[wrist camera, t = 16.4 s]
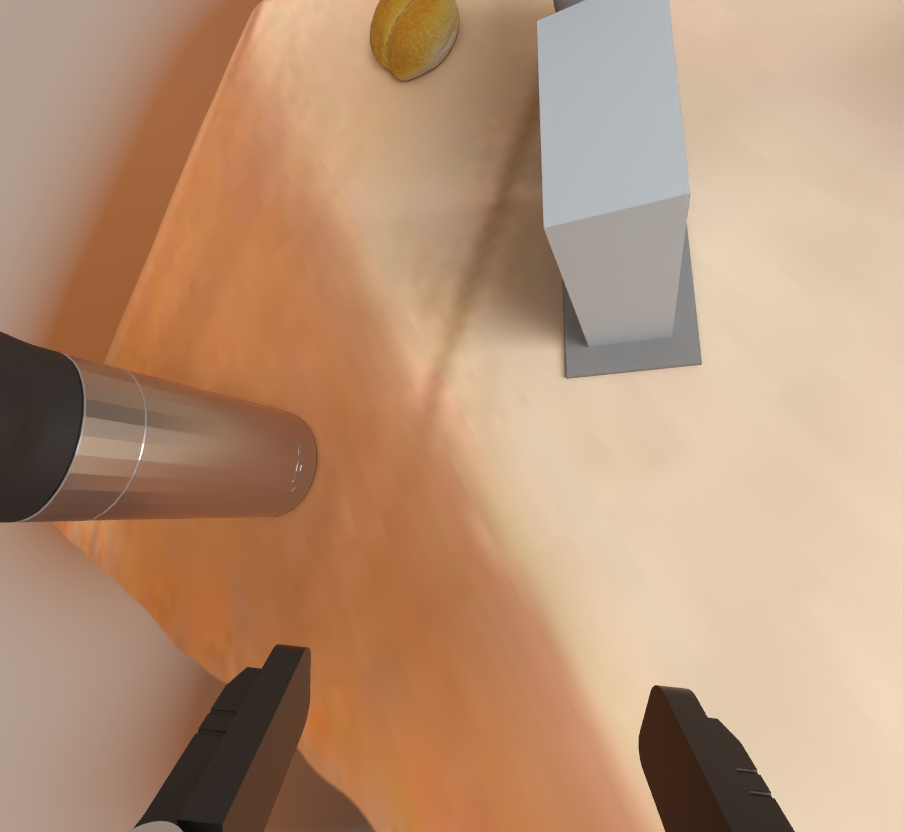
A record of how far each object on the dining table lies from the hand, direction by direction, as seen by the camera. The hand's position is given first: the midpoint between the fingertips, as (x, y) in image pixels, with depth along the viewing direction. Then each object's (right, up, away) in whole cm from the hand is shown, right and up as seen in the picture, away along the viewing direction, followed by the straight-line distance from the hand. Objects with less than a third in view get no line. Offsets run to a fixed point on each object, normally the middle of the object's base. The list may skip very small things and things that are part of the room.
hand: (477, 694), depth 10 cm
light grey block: (+11, +16, +19) cm, 27 cm away
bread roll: (-4, +42, +32) cm, 53 cm away
